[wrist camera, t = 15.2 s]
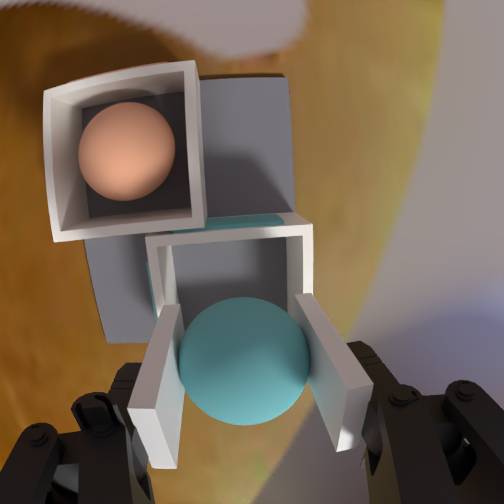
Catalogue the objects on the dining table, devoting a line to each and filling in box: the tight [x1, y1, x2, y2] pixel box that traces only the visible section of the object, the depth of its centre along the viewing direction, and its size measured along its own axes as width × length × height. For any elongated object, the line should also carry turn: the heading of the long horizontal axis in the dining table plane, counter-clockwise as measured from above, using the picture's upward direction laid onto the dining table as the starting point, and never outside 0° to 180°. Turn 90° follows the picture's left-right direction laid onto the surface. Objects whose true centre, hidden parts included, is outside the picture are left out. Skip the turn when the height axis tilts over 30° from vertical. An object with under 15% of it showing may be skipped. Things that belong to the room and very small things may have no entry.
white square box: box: [43, 60, 208, 242], centre depth 15 cm, size 8×8×4 cm
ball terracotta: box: [78, 102, 175, 201], centre depth 14 cm, size 5×5×5 cm
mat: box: [82, 77, 295, 343], centre depth 18 cm, size 16×13×1 cm
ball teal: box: [178, 297, 310, 425], centre depth 12 cm, size 5×5×5 cm
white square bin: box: [145, 212, 313, 323], centre depth 17 cm, size 8×8×4 cm
